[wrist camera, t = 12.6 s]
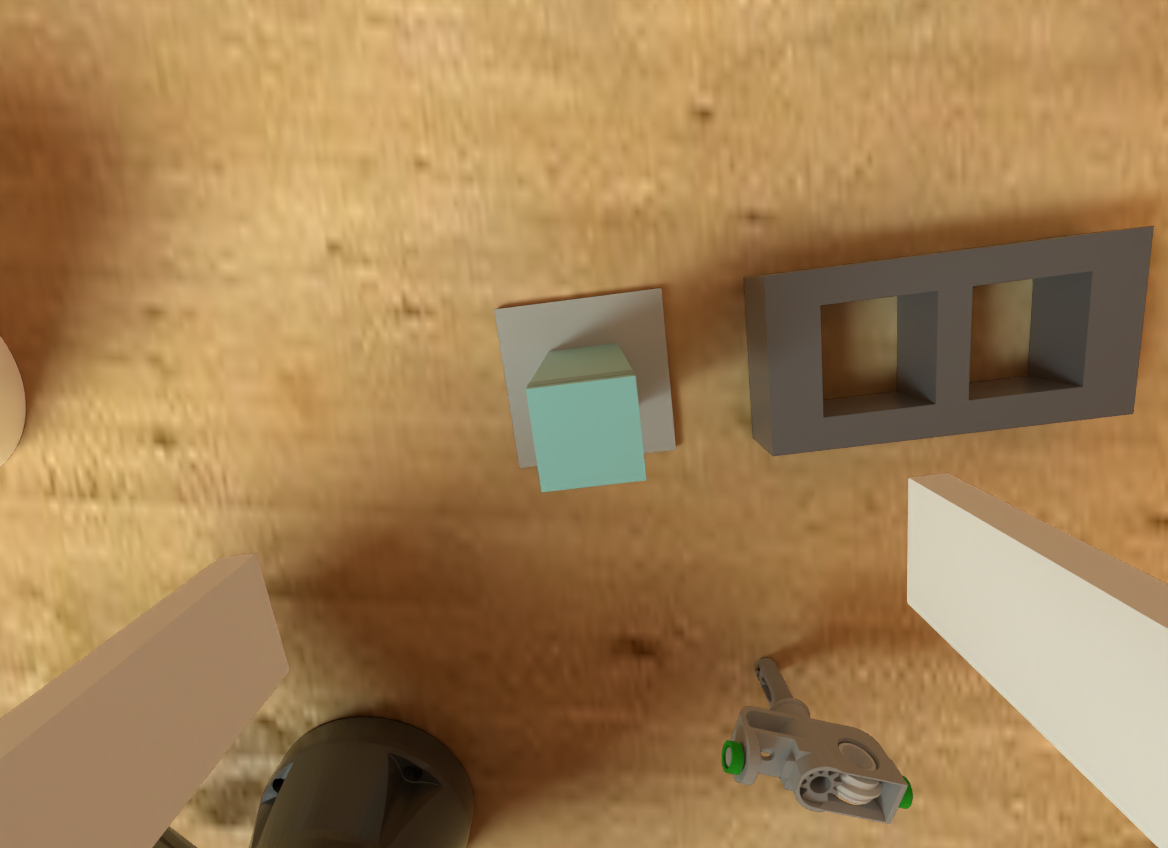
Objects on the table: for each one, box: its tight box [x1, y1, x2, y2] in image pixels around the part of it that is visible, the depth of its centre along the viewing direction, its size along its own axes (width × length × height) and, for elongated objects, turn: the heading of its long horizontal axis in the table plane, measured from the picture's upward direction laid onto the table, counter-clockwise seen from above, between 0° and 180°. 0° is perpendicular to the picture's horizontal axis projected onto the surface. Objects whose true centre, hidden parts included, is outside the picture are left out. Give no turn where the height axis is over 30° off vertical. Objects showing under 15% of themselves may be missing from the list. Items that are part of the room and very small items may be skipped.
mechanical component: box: [722, 658, 913, 824], centre depth 35 cm, size 3×10×10 cm, turn 77°
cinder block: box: [744, 226, 1154, 456], centre depth 32 cm, size 20×10×4 cm, turn 97°
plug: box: [526, 343, 646, 492], centre depth 28 cm, size 4×4×13 cm
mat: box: [494, 288, 676, 468], centre depth 35 cm, size 10×10×1 cm
